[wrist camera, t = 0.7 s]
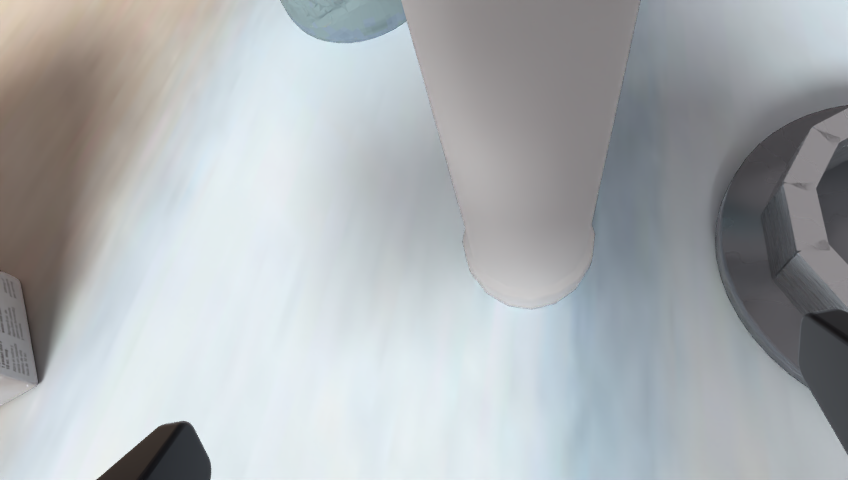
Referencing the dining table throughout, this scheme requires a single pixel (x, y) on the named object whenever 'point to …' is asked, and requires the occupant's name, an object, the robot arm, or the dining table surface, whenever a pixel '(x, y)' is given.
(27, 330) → the coffee box
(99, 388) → the dining table surface
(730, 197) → the grey ring
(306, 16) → the grey-green cup
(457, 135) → the bottle
